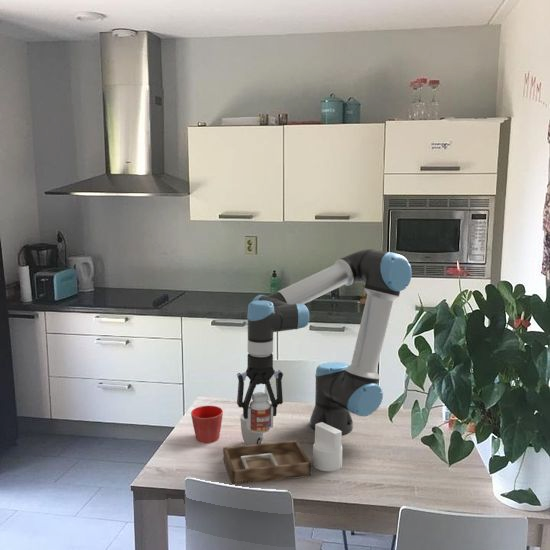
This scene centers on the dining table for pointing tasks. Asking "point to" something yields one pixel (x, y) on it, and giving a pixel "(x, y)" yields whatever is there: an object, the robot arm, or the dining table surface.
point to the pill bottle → (260, 413)
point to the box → (266, 462)
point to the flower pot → (207, 423)
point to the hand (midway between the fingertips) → (259, 426)
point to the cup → (249, 434)
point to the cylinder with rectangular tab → (327, 448)
